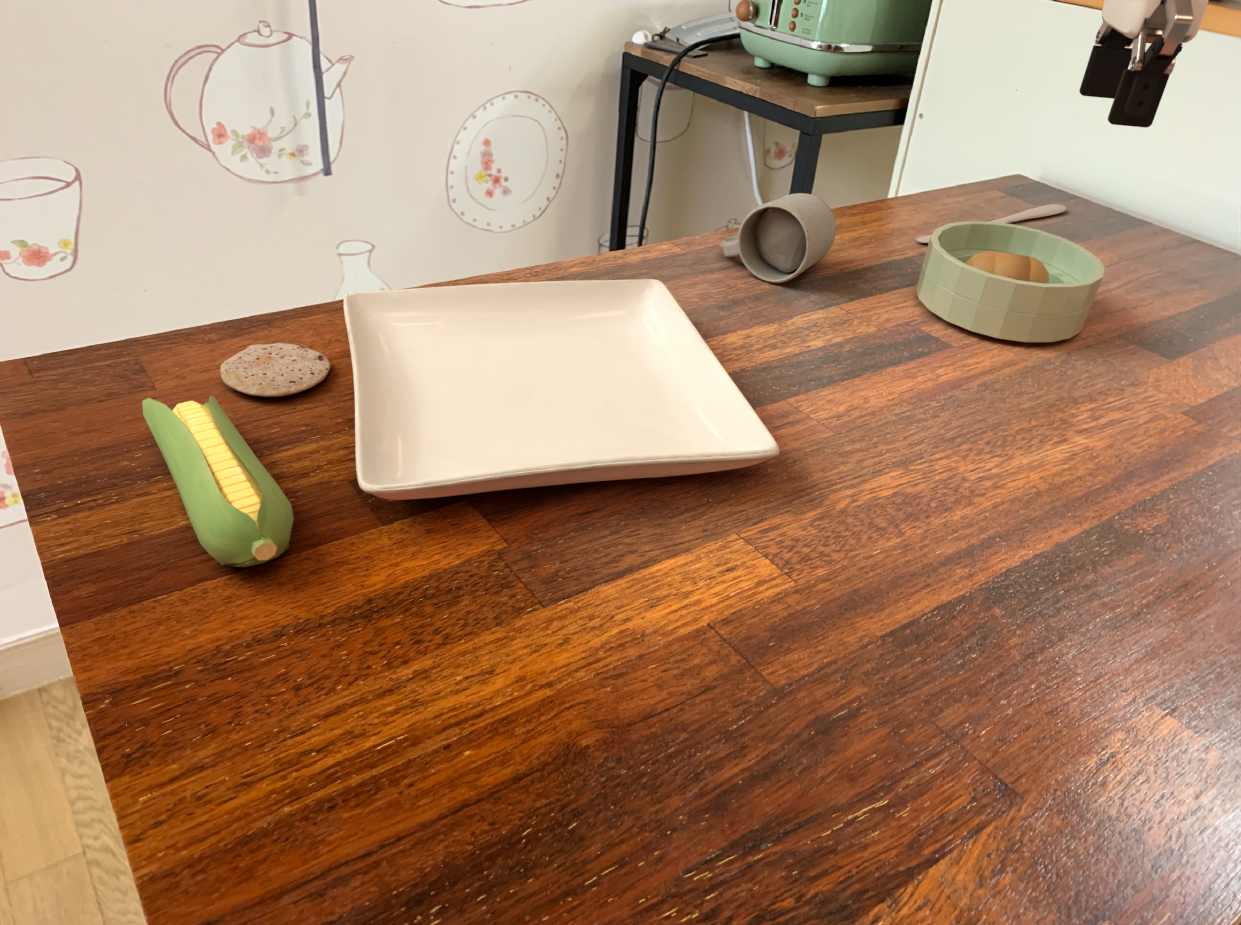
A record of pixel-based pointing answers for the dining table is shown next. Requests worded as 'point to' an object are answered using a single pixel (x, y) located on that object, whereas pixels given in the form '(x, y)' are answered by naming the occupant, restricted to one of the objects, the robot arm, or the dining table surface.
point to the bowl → (1008, 282)
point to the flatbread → (274, 369)
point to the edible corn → (221, 483)
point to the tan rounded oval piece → (1010, 266)
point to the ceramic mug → (783, 237)
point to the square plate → (538, 389)
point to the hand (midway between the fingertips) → (1112, 110)
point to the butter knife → (1020, 216)
